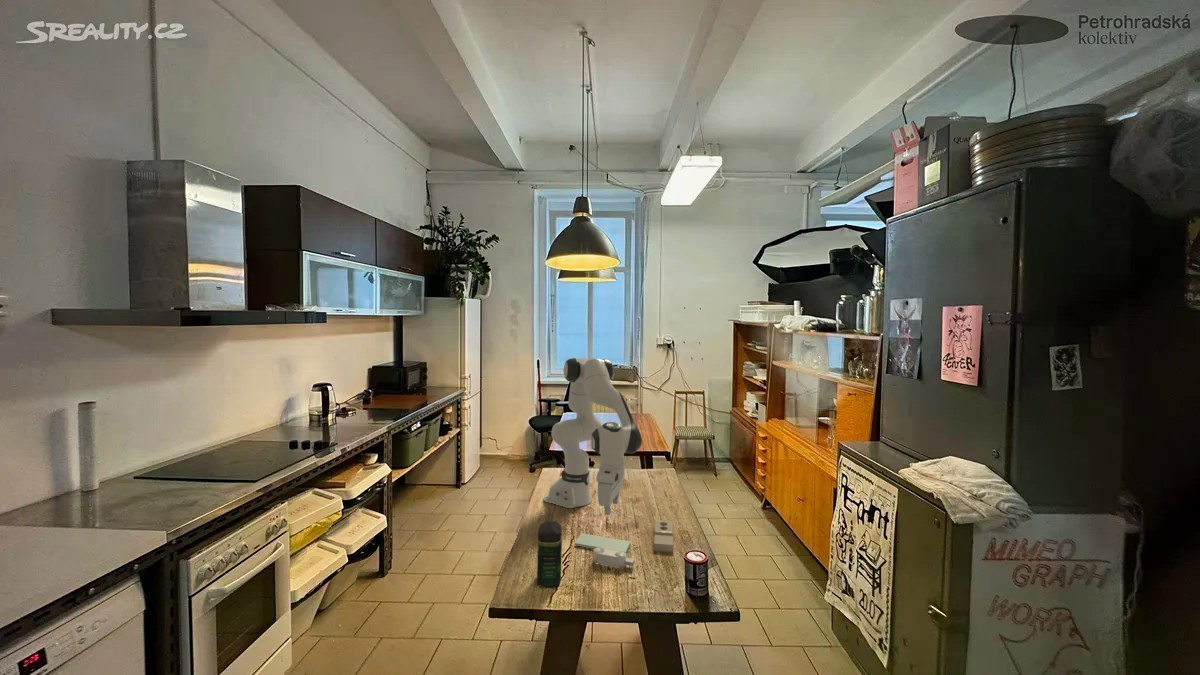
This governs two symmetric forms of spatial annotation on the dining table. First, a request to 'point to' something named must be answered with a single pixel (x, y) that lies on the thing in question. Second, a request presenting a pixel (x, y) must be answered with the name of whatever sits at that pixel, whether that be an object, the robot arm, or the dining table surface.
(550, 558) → the coffee jar
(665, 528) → the electrical outlet
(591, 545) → the sage board
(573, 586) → the dining table surface
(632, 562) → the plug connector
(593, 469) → the dining table surface
